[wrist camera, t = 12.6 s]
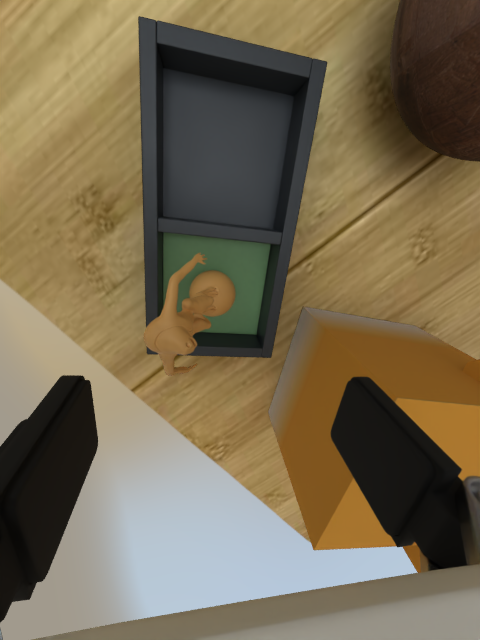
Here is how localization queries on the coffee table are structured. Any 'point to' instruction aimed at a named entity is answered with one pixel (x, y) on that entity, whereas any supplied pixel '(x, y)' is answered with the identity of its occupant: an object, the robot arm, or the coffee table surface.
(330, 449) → the fox head
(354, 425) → the robot arm
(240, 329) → the tray
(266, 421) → the coffee table surface
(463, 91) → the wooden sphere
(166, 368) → the figurine
